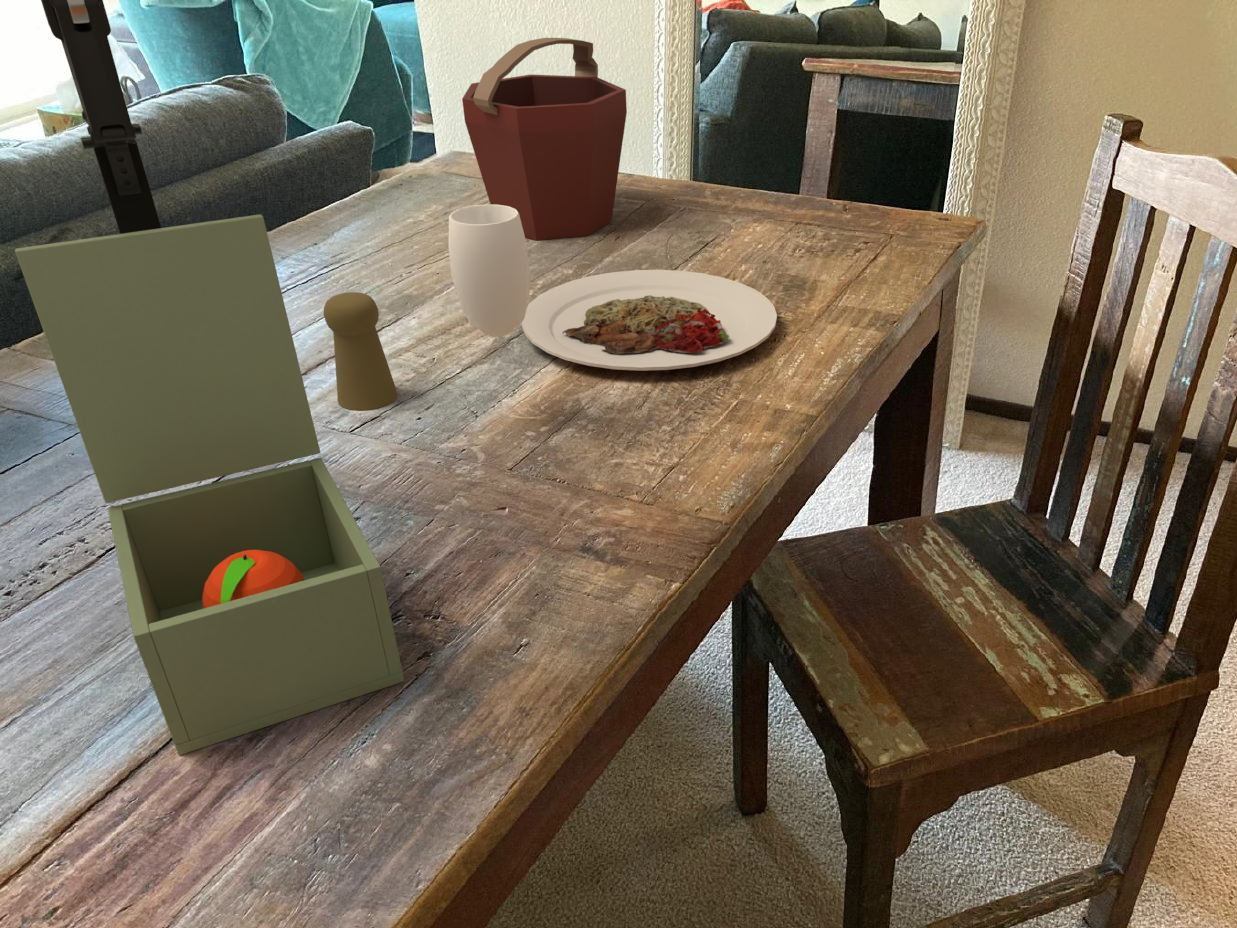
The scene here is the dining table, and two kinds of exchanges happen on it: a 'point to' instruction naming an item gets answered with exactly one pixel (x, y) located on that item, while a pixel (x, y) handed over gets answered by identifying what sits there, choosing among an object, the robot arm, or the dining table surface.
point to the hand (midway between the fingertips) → (141, 235)
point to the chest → (253, 603)
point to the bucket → (548, 142)
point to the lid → (173, 352)
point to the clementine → (248, 576)
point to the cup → (490, 266)
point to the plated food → (649, 320)
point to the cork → (358, 353)
